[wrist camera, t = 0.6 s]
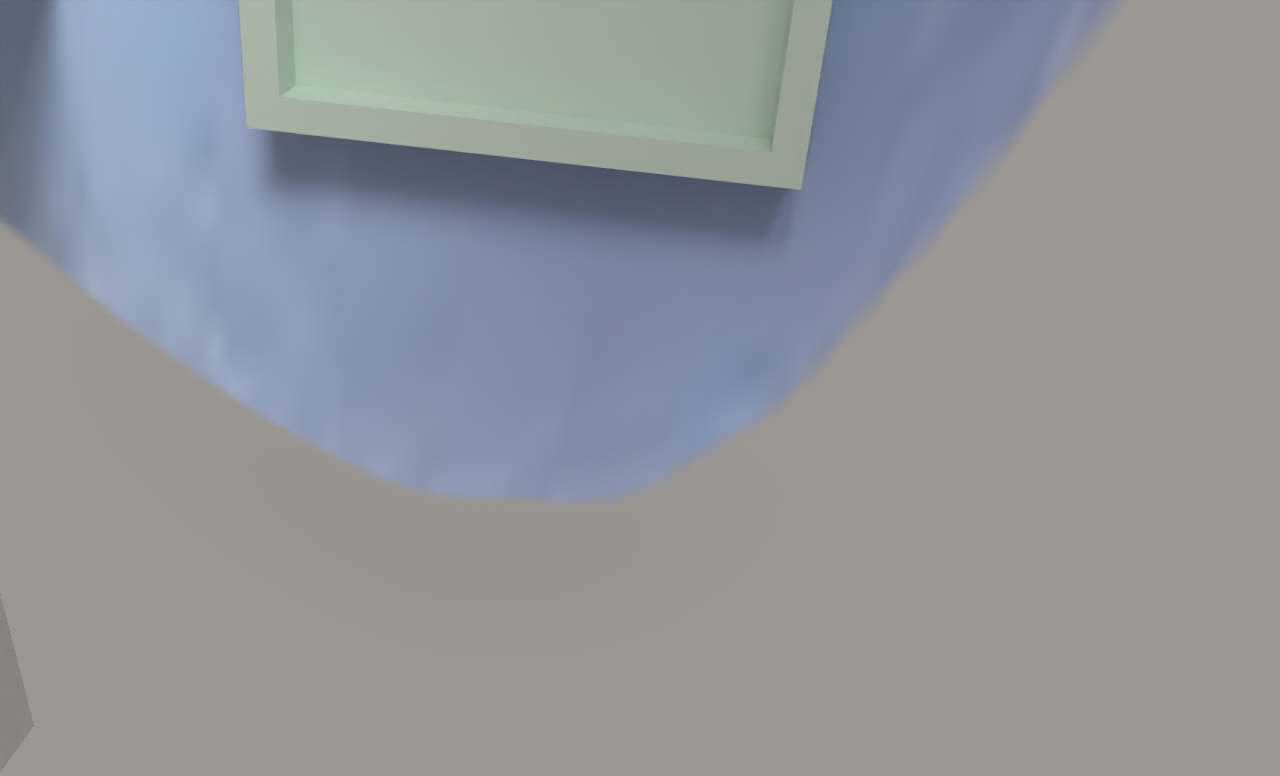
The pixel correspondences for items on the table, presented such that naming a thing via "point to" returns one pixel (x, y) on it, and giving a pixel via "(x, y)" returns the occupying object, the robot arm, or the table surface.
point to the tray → (549, 79)
